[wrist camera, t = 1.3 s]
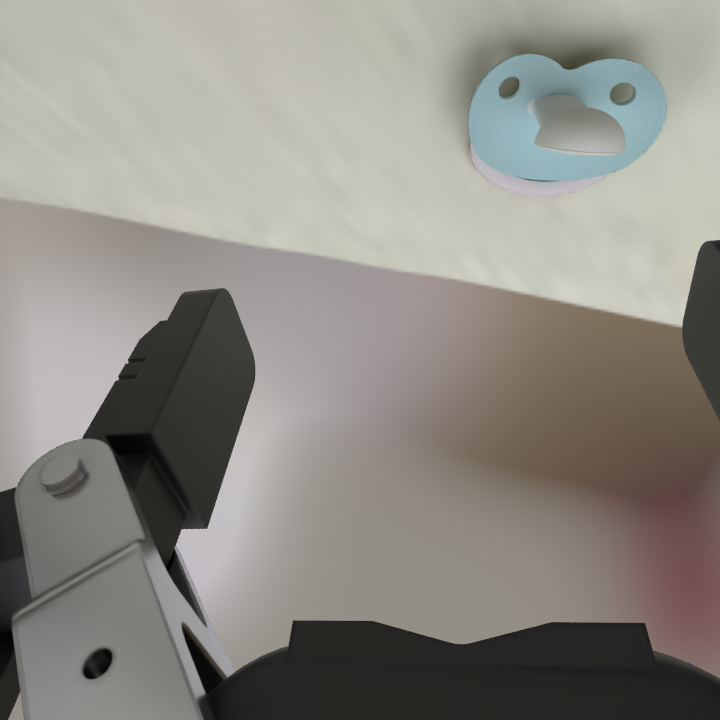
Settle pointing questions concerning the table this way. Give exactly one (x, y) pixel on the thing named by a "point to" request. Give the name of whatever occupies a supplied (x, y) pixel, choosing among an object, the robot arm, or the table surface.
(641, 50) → the table surface
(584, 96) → the pacifier
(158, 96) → the table surface
